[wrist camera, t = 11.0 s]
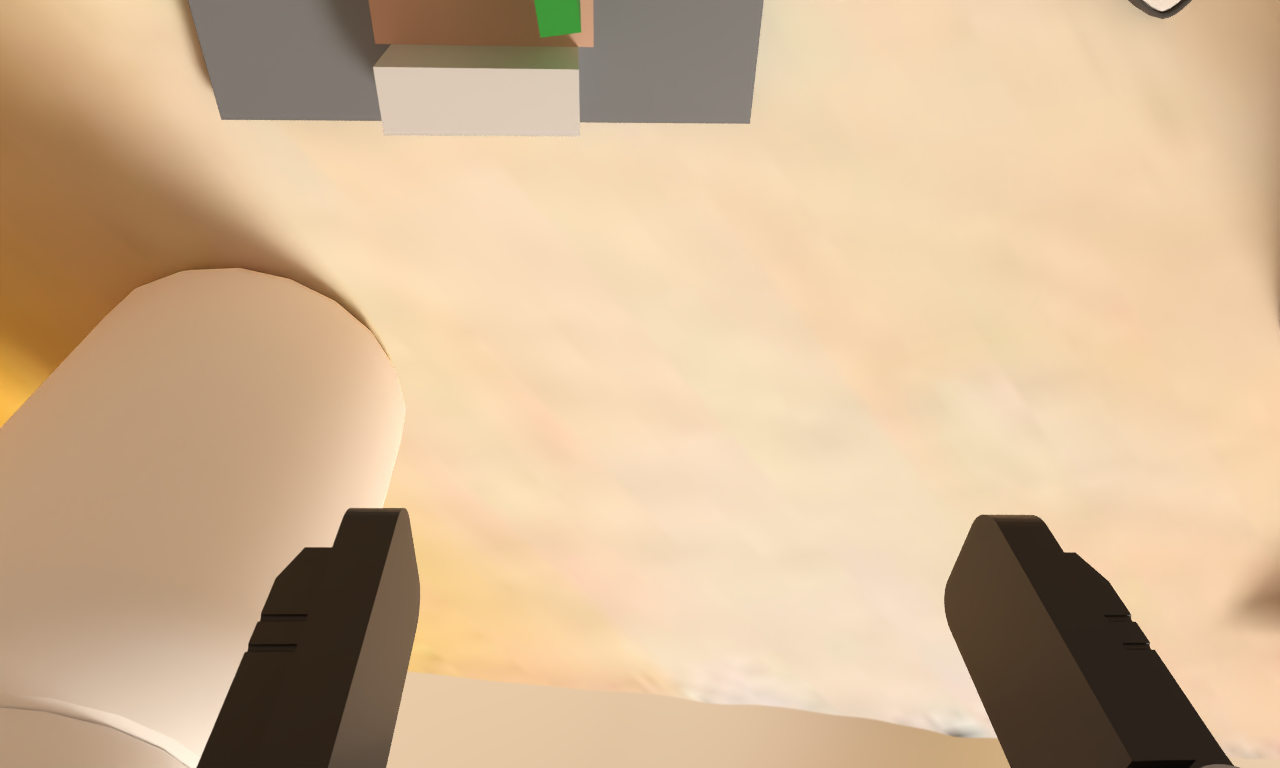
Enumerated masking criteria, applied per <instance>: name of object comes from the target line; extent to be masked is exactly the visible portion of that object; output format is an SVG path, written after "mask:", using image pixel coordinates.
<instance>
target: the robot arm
mask: <svg viewBox="0 0 1280 768" xmlns="http://www.w3.org/2000/svg"><path fill="white" fill-rule="evenodd" d="M944 604H945V613H946V618H947V622H948V625H949V628H950V630H951V632H952V635H953V637H954V639H955V641H956V644H957V646H958V648H959V651H960V653H961V655H962V657H963V660H964V662H965V664H966V667H967V669H968V671H969V673H970V676H971V678H972V680H973V683H974V685H975V687H976V689H977V692H978V694H979V696H980V699H981V701H982V703H983V705H984V708H985V710H986V712H987V714H988V717H989V719H990V721H991V724H992V726H993V728H994V730H995V733H996V735H997V737H998V740H999V741H1000V744H1001V746H1002V748H1003V751H1004V753H1005V755H1006V758H1007V760H1008V762H1009V764H1010V767H1011V768H1239V767H1236V766H1234V765H1233V764H1232V763H1231V761H1230V760H1229V759H1228V757H1227V756H1226V755H1225V753H1224V752H1223V750H1222V749H1221V747H1220V746H1219V744H1218V743H1217V741H1216V740H1215V739H1214V737H1213V736H1212V734H1211V733H1210V731H1209V730H1208V728H1207V727H1206V725H1205V724H1204V722H1203V721H1202V719H1201V718H1200V716H1199V715H1198V713H1197V712H1196V710H1195V709H1194V707H1193V706H1192V704H1191V703H1190V701H1189V700H1188V698H1187V697H1186V695H1185V694H1184V692H1183V691H1182V690H1181V688H1180V687H1179V685H1178V684H1177V682H1176V681H1175V679H1174V678H1173V676H1172V675H1171V673H1170V672H1169V670H1168V669H1167V667H1166V666H1165V664H1164V663H1163V661H1162V660H1161V658H1160V657H1159V655H1158V654H1157V652H1156V651H1155V650H1151V649H1150V646H1149V644H1150V642H1149V641H1148V639H1147V638H1146V636H1145V635H1144V633H1143V632H1142V630H1141V629H1140V627H1139V626H1138V624H1137V623H1136V622H1132V620H1131V614H1130V612H1129V611H1128V609H1127V608H1126V606H1125V605H1124V603H1123V602H1122V600H1121V599H1120V597H1119V596H1118V595H1117V593H1116V592H1115V590H1114V589H1113V587H1112V586H1111V584H1110V583H1109V581H1108V580H1106V579H1105V578H1104V577H1103V576H1102V575H1101V574H1099V573H1098V572H1097V571H1096V570H1095V569H1094V568H1092V567H1091V566H1090V565H1089V564H1088V563H1087V562H1086V561H1084V560H1083V559H1082V558H1081V557H1080V556H1079V555H1077V554H1076V553H1064V552H1063V550H1062V549H1061V547H1060V545H1059V544H1058V542H1057V541H1056V539H1055V538H1054V536H1053V534H1052V533H1051V531H1050V530H1049V528H1048V527H1047V525H1046V524H1045V523H1044V521H1043V520H1041V519H1040V518H1039V517H1037V516H1034V515H980V516H979V517H977V518H976V519H975V521H974V522H973V524H972V526H971V528H970V531H969V533H968V535H967V538H966V540H965V542H964V545H963V547H962V549H961V551H960V554H959V556H958V558H957V561H956V563H955V565H954V567H953V570H952V572H951V574H950V577H949V579H948V581H947V584H946V588H945V596H944ZM419 606H420V583H419V575H418V569H417V563H416V557H415V550H414V544H413V538H412V532H411V526H410V519H409V515H408V512H407V510H406V509H405V508H349V509H348V510H347V511H346V512H345V514H344V516H343V519H342V521H341V524H340V527H339V530H338V532H337V535H336V538H335V541H334V544H333V546H332V547H305V548H304V549H303V550H302V551H301V552H300V553H299V554H298V555H297V556H296V557H295V558H294V559H293V560H292V561H291V563H290V564H289V565H288V566H287V567H286V568H285V569H284V570H283V571H282V572H281V573H280V574H279V575H278V576H277V577H276V579H275V581H274V583H273V586H272V588H271V591H270V593H269V595H268V598H267V600H266V603H265V605H264V607H263V610H262V612H261V619H260V622H257V624H256V626H255V629H254V631H253V634H252V636H251V638H250V641H249V643H248V651H247V652H245V653H244V655H243V657H242V660H241V662H240V665H239V667H238V669H237V672H236V674H235V677H234V679H233V681H232V684H231V686H230V689H229V691H228V693H227V696H226V698H225V700H224V703H223V705H222V708H221V710H220V712H219V715H218V717H217V720H216V722H215V724H214V727H213V729H212V732H211V734H210V736H209V739H208V741H207V743H206V746H205V748H204V751H203V753H202V755H201V758H200V760H199V763H198V765H197V767H196V768H386V765H387V761H388V756H389V751H390V747H391V742H392V738H393V733H394V729H395V724H396V720H397V715H398V711H399V706H400V701H401V697H402V692H403V688H404V683H405V679H406V674H407V669H408V665H409V660H410V656H411V651H412V647H413V642H414V637H415V633H416V628H417V623H418V616H419Z"/></svg>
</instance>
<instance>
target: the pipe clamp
mask: <svg viewBox="0 0 1280 768" xmlns="http://www.w3.org/2000/svg"><path fill="white" fill-rule="evenodd" d="M534 3H535V9H536V15H537V20H538V26H539V32H540V38H543V37H550V36H558V35H566V34H573V33H581V10H580V0H534Z"/></svg>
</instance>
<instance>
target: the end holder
mask: <svg viewBox="0 0 1280 768" xmlns="http://www.w3.org/2000/svg"><path fill="white" fill-rule="evenodd" d="M188 2H189V6H190V9H191V13H192V17H193V20H194V24H195V27H196V31H197V34H198V38H199V41H200V45H201V49H202V52H203V56H204V59H205V63H206V66H207V70H208V73H209V77H210V80H211V84H212V88H213V91H214V95H215V98H216V102H217V105H218V109H219V112H220V116H221V120H346V121H382V125H383V132H384V135H430V136H580V122H608V123H739V124H750V117H751V108H752V99H753V90H754V81H755V72H756V63H757V54H758V45H759V36H760V27H761V18H762V9H763V0H580V10H581V33H573V34H566V35H558V36H550V37H543V38H540V32H539V26H538V20H537V15H536V9H535V3H534V0H188Z"/></svg>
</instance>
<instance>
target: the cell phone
mask: <svg viewBox="0 0 1280 768" xmlns="http://www.w3.org/2000/svg"><path fill="white" fill-rule="evenodd" d="M1129 1H1130V2H1131V3H1132V4H1133V5H1134V6H1136V7H1137V8H1139V9H1140V10H1142V11H1143V12H1145V13H1147V14H1148V15H1151V16H1154V17H1158V18H1161V19H1164V18H1169V17H1171V16H1173V15H1175V14H1176V13H1178V12H1179V11H1180V10H1182V9H1183V8H1184V7H1185V6H1186V5H1187V4H1188V3H1190V2H1191V1H1192V0H1129Z"/></svg>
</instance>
